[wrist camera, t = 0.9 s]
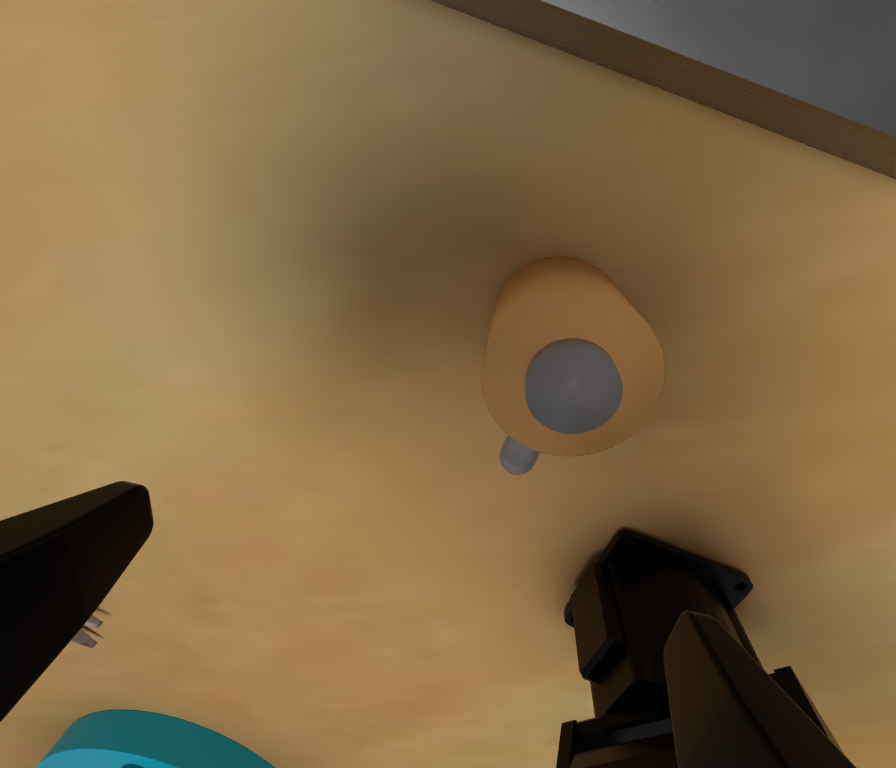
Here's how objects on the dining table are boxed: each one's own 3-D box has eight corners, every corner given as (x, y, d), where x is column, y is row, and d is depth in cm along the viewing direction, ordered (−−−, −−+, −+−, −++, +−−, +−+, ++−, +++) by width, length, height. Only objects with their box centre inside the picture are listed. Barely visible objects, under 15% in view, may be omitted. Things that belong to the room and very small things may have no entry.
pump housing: (643, 283, 17) (714, 343, 11) (565, 430, 20) (584, 543, 13) (522, 237, 17) (522, 269, 11) (460, 390, 20) (433, 486, 13)
